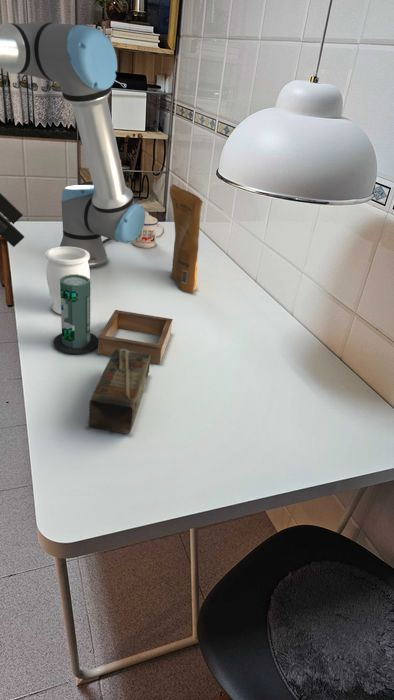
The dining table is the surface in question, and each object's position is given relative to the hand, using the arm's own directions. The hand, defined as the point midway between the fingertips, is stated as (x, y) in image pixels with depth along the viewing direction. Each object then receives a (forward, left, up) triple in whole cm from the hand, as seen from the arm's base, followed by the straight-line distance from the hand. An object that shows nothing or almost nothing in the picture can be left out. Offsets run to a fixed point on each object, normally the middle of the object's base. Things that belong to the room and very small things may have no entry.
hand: (18, 230), depth 92 cm
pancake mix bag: (-48, +27, -26) cm, 61 cm away
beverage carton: (+14, +25, -26) cm, 39 cm away
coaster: (-4, +10, -26) cm, 28 cm away
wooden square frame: (-8, +23, -26) cm, 35 cm away
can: (-3, +10, -25) cm, 28 cm away
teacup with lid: (-79, +10, -26) cm, 83 cm away
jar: (-20, +2, -26) cm, 33 cm away
